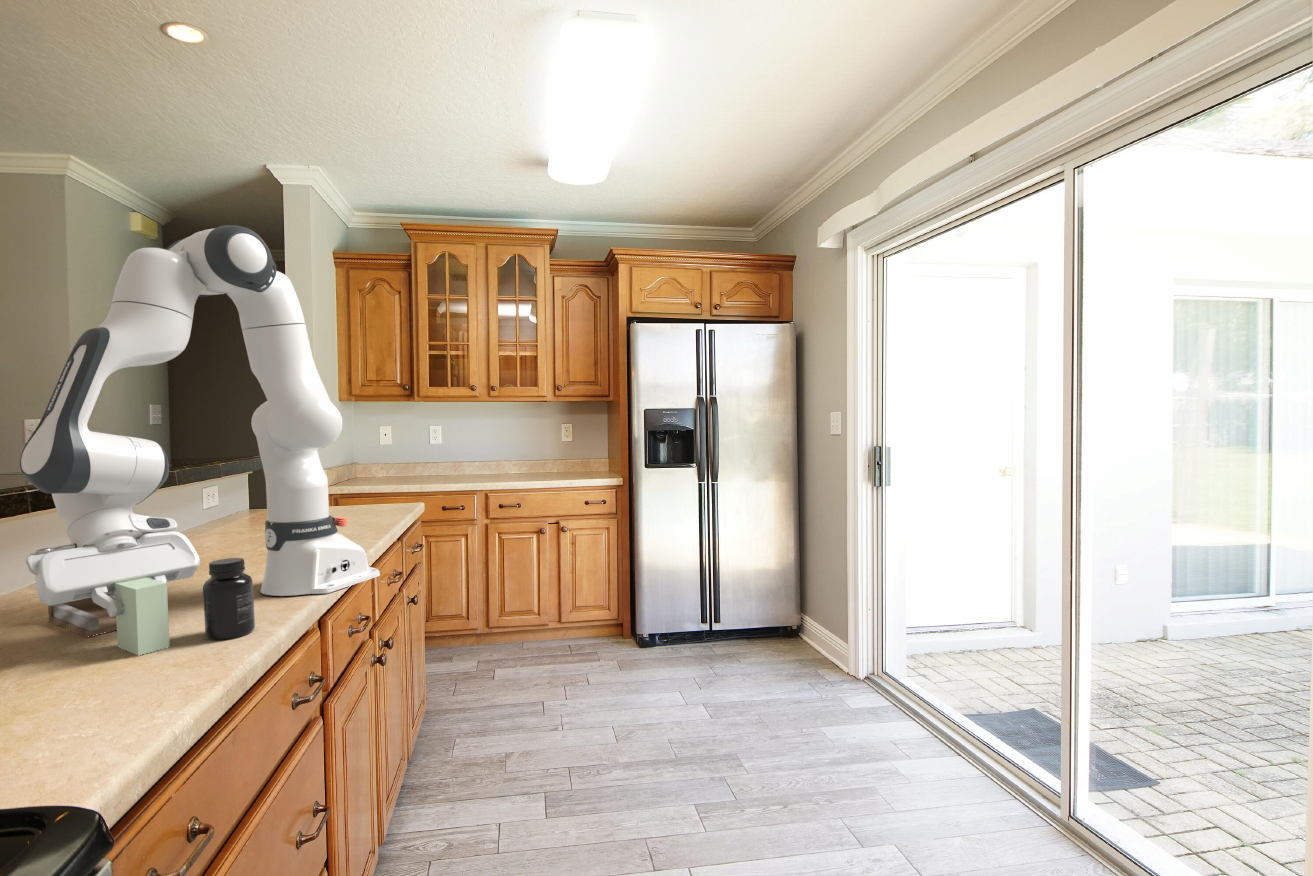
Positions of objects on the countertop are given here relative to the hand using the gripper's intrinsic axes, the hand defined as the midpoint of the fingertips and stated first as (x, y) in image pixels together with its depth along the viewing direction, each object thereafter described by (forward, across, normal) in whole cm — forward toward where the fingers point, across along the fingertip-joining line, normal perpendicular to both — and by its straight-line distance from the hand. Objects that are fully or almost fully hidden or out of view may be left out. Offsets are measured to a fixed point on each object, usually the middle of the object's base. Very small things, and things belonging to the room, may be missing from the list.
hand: (139, 608), depth 101 cm
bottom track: (-10, +2, +18) cm, 21 cm away
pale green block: (+5, 0, +4) cm, 6 cm away
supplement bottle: (+8, +10, 0) cm, 13 cm away
